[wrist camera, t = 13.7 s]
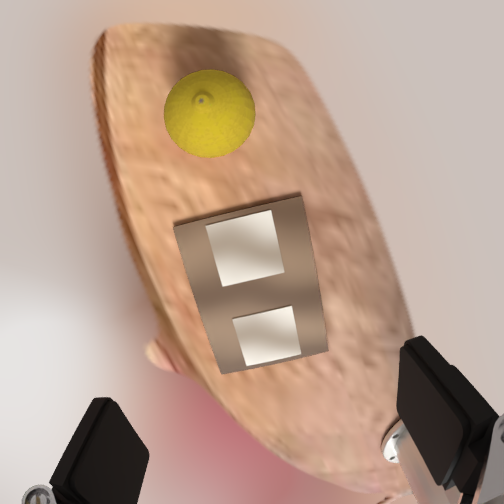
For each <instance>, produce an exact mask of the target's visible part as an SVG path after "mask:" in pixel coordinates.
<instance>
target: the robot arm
mask: <svg viewBox="0 0 504 504" xmlns="http://www.w3.org/2000/svg"><path fill="white" fill-rule="evenodd" d="M397 411H398V414H399V416H400V418H401V419H400V420H399V421H398V422H397V423H396V424H395V425H394V426H393V427H392V428H391V429H390V431H389V432H388V434H387V435H386V436H385V438H384V440H383V442H382V446H381V450H382V454H383V456H384V458H385V459H386V460H387V461H389V462H393V463H400V465H401V467H402V469H403V471H404V474H405V476H406V478H407V480H408V482H409V485H410V487H411V489H412V491H413V494H414V496H415V498H416V500H417V503H418V504H504V414H503V415H502V416H500V417H499V415H498V414H497V413H496V412H495V411H494V410H493V409H492V407H491V406H490V405H489V404H488V403H487V401H486V400H485V399H484V398H483V397H482V396H481V395H480V393H479V392H478V391H477V390H476V389H475V388H474V386H473V385H472V384H471V383H470V382H469V381H468V380H467V379H466V378H465V376H464V375H463V374H462V373H461V372H460V371H459V370H458V369H457V368H456V367H455V366H453V365H450V364H449V363H448V362H447V361H446V360H445V359H444V358H443V357H442V355H441V354H440V353H439V352H438V351H437V350H436V349H435V348H434V347H433V346H432V345H431V344H430V343H429V341H427V339H426V338H425V337H423V336H418V337H415V338H413V339H410V340H407V341H405V343H404V346H403V347H401V348H400V361H399V380H398V393H397ZM148 460H149V451H148V449H147V448H146V446H145V445H144V443H143V442H142V440H141V439H140V438H139V436H138V435H137V433H136V432H135V430H134V429H133V427H132V426H131V424H130V423H129V421H128V419H127V418H126V417H125V415H124V413H123V412H122V410H121V409H120V407H119V405H118V404H117V403H116V402H115V401H113V400H112V399H111V398H108V397H101V398H94V399H93V400H92V402H91V404H90V405H89V407H88V409H87V411H86V413H85V414H84V416H83V418H82V420H81V422H80V423H79V426H78V427H77V429H76V431H75V433H74V435H73V436H72V438H71V440H70V442H69V444H68V446H67V448H66V450H65V452H64V453H63V456H62V458H61V459H60V461H59V463H58V465H57V467H56V469H55V471H54V473H53V475H52V477H51V479H50V482H49V483H50V484H51V485H52V486H53V488H52V490H51V489H50V488H49V487H47V486H45V485H36V486H33V487H31V488H29V489H28V490H27V491H26V492H25V494H24V496H23V498H22V504H137V502H138V498H139V494H140V490H141V487H142V483H143V479H144V475H145V472H146V468H147V464H148Z"/></svg>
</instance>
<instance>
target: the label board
mask: <svg viewBox="0 0 504 504" xmlns="http://www.w3.org/2000/svg"><path fill="white" fill-rule="evenodd" d="M173 230H174V233H175V237H176V240H177V243H178V247H179V250H180V254H181V257H182V260H183V263H184V267H185V270H186V273H187V276H188V279H189V283H190V286H191V289H192V292H193V295H194V298H195V301H196V304H197V307H198V310H199V313H200V316H201V319H202V322H203V325H204V328H205V330H206V333H207V336H208V339H209V342H210V345H211V347H212V350H213V353H214V356H215V358H216V361H217V364H218V366H219V369H220V372H221V374H227V373H232V372H238V371H243V370H248V369H253V368H258V367H263V366H268V365H273V364H277V363H282V362H286V361H291V360H295V359H299V358H303V357H307V356H311V355H315V354H319V353H323V352H326V351H329V350H328V343H327V336H326V329H325V322H324V315H323V309H322V302H321V296H320V290H319V284H318V278H317V272H316V266H315V261H314V255H313V250H312V244H311V239H310V234H309V229H308V224H307V219H306V214H305V209H304V204H303V199H302V196H298V197H293V198H289V199H284V200H280V201H276V202H271V203H267V204H263V205H258V206H254V207H250V208H246V209H241V210H237V211H233V212H229V213H225V214H221V215H217V216H213V217H209V218H205V219H201V220H197V221H193V222H189V223H186V224H182V225H178V226H174V227H173Z"/></svg>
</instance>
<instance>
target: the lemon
mask: <svg viewBox="0 0 504 504" xmlns="http://www.w3.org/2000/svg"><path fill="white" fill-rule="evenodd" d="M164 120H165V125H166V129H167V131H168V133H169V135H170V137H171V139H172V140H173V141H174V142H175V143H176V144H177V145H178V146H179V147H180V148H181V149H183V150H184V151H186V152H188V153H189V154H192V155H195V156H198V157H207V158H214V157H219V156H224V155H226V154H228V153H231V152H233V151H234V150H236V149H237V148H238V147H240V146H241V145H242V144H243V143H244V142H245V140H246V139H247V138H248V137H249V135H250V133H251V130H252V128H253V126H254V121H255V104H254V101H253V98H252V96H251V93H250V92H249V90H248V89H247V88H246V86H245V85H244V84H243V83H242V82H241V81H240V80H239V79H237V78H236V77H235V76H233V75H231V74H229V73H226V72H224V71H219V70H213V69H209V70H200V71H197V72H193V73H190V74H189V75H187V76H185V77H184V78H182V79H181V80H180V81H179V82H178V83H177V84H176V85H175V86H174V87H173V88H172V90H171V91H170V93H169V94H168V97H167V100H166V103H165V106H164Z"/></svg>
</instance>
